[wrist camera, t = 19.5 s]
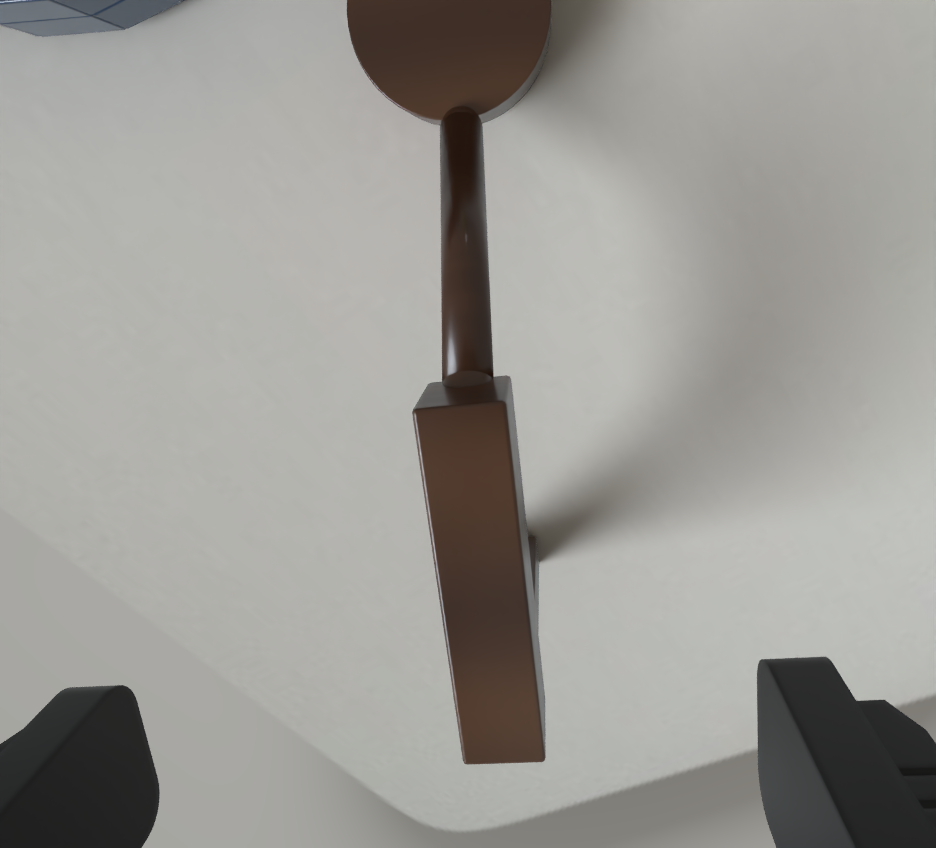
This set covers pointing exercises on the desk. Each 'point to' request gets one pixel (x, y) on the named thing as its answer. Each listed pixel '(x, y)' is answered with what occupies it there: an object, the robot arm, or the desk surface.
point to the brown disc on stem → (470, 360)
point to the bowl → (77, 15)
